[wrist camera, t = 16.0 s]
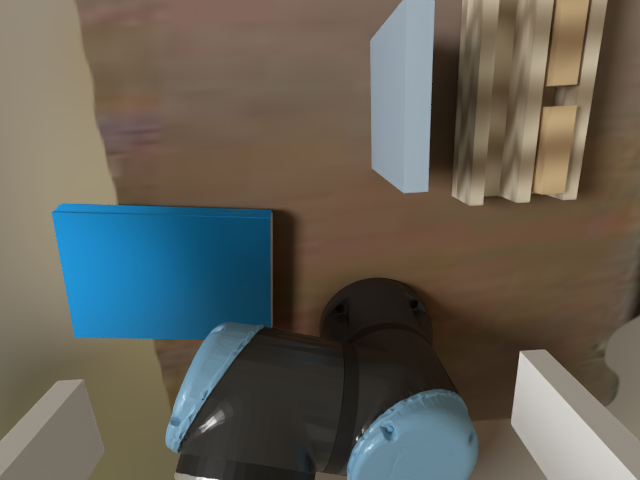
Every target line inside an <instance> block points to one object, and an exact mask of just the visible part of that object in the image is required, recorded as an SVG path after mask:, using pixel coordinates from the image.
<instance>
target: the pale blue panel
mask: <svg viewBox="0 0 640 480" xmlns="http://www.w3.org/2000/svg"><path fill="white" fill-rule="evenodd" d="M434 5H435V0H403V1H402V2H401V3H400V4H399V6H398V7H397V8H396V9H395V11H394V12H393V13H392V14H391V16H390V17H389V18H388V19H387V21H386V22H385V23H384V24H383V25H382V27H381V28H380V29H379V30H378V32H377V33H376V34H375V35H374V37H373V38H372V39H371V40H370V48H371V134H372V169H373V170H375V171H376V172H377V173H379V174H380V175H381V176H382V177H384V178H385V179H386V180H388V181H389V182H390V183H391V184H393V185H394V186H395V187H397V188H398V189H399V190H400V191H402V192H403V193H413V192H428V179H429V150H430V121H431V92H432V63H433V34H434Z"/></svg>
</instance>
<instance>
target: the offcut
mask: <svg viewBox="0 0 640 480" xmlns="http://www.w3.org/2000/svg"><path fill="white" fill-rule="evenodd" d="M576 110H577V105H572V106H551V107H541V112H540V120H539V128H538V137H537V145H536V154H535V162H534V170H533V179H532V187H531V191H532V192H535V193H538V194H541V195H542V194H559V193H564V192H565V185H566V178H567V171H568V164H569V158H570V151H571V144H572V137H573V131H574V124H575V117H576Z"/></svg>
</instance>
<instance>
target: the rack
mask: <svg viewBox="0 0 640 480" xmlns="http://www.w3.org/2000/svg"><path fill="white" fill-rule="evenodd" d="M607 1H608V0H589V5H588V11H587V18H586V25H585V32H584V39H583V46H582V53H581V60H580V67H579V74H578V81H577V84H576V85H568V86H560V87H552V88H543V87H544V78H545V70H546V62H547V53H548V45H549V36H550V28H551V20H552V11H553V3H554V0H462V17H461V36H460V54H459V73H458V91H457V109H456V128H455V146H454V165H453V183H452V196H453V197H455V198H457V199H458V200H460V201H462V202H464V203H466V204H468V205H470V206H471V205H483V199H484V197H487V196H501V197H503V198H506V199H508V200H511V201H513V202H516V203H521V202H530V195H531V194H537V193H535V192H532V191H531V187H532V179H533V170H534V162H535V154H536V145H537V137H538V128H539V120H540V112H541V107H551V106H572V105H577V110H576V117H575V124H574V131H573V137H572V144H571V151H570V158H569V164H568V171H567V178H566V185H565V192H564V193H559V194H546V195H549V196H552V197H555V198H558V199H561V200H571V199H576V197H577V191H578V185H579V178H580V172H581V166H582V159H583V153H584V147H585V140H586V134H587V128H588V121H589V115H590V109H591V102H592V96H593V90H594V83H595V77H596V71H597V64H598V58H599V52H600V45H601V39H602V33H603V26H604V20H605V14H606V7H607Z"/></svg>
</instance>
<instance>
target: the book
mask: <svg viewBox="0 0 640 480" xmlns="http://www.w3.org/2000/svg"><path fill="white" fill-rule="evenodd" d="M272 211H273V210H261V209H227V208H194V207H160V206H127V205H92V204H61V205H59V206H58V207H57V208H56V209H55V211H54V212H52V217H53V222H54V228H55V233H56V238H57V244H58V249H59V254H60V260H61V266H62V271H63V276H64V282H65V287H66V292H67V298H68V304H69V309H70V314H71V320H72V325H73V331H74V336H75V338H137V339H200V340H205V339H206V337H207V336H208V335H209V333H210V332H211V331H212V330H213V329H214V328H216V327H217V326H218V325H220V324H223V323H226V322H235V323H242V324H250V325H260V324H263V325H266V326H267V327H269V328H272V327H273V213H272Z"/></svg>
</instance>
